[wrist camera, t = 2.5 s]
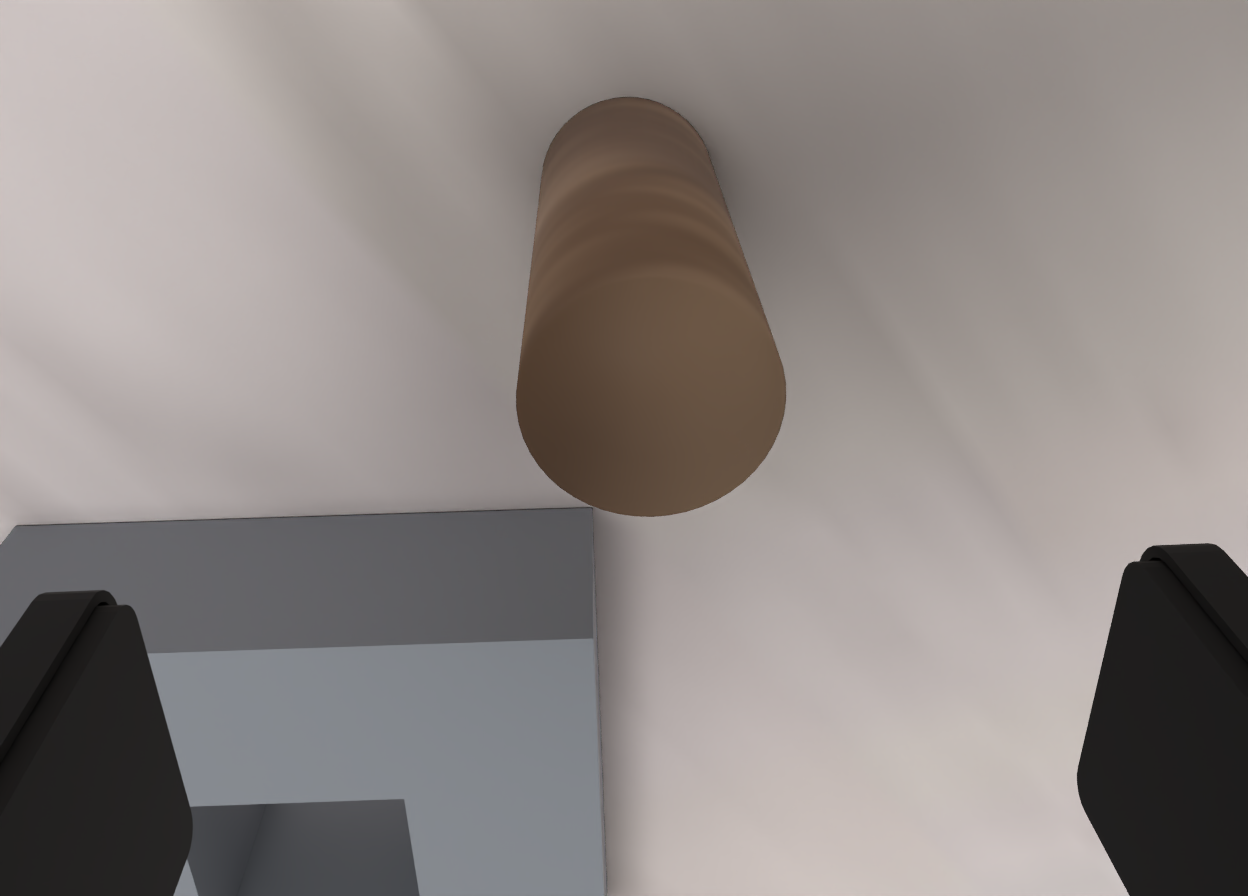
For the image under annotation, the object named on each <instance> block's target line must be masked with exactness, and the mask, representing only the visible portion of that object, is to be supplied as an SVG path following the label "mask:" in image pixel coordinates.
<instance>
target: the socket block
mask: <svg viewBox="0 0 1248 896" xmlns="http://www.w3.org/2000/svg"><path fill="white" fill-rule="evenodd" d="M89 590H105V591H108V592H110V593H111V594H112V596H113V597H114V598H115V600H116V603H117V605H129V606H131V607H132V608H133V610H134V611H135V613H136V616H137V618H138V622H139V626H140V629H141V633H142V636H143V640H144V643H145V647H146V651H147V654H148V658H149V661H150V665H151V669H152V672H153V676H154V679H155V683H156V686H157V690H158V694H159V697H160V701H161V704H162V708H163V712H164V715H165V719H166V722H167V726H168V729H169V733H170V737H171V740H172V744H173V747H174V751H175V755H176V758H177V762H178V765H179V769H180V772H181V776H182V780H183V783H184V787H185V790H186V794H187V798H188V801H189V805H190V808H191V813H192V820H193V834H192V842H191V848H190V851H189V855H188V857H187V860H186V863H185V866H184V868H183V871H182V874H181V876H180V879H179V882H178V885H177V887H176V890H175V893H174V895H173V896H607V876H606V850H605V824H604V799H603V773H602V747H601V722H600V696H599V670H598V645H597V619H596V593H595V568H594V542H593V516H592V508H570V509H539V510H508V511H476V512H445V513H414V514H382V515H351V516H320V517H288V518H257V519H226V520H194V521H163V522H132V523H100V524H69V525H37V526H15V527H14V529H13V530H12V531H11V532H10V534H9V535H8V536H7V537H6V539H5V540H4V541H3V542H2V544H1V545H0V647H1V645H2V644H3V642H4V641H5V639H6V638H7V637H8V635H9V634H10V632H11V631H12V629H13V628H14V627H15V625H16V624H17V622H18V621H19V619H20V618H21V616H22V615H23V614H24V612H25V611H26V609H27V608H28V606H29V605H30V603H31V602H32V601H33V600H34V599H35V598H36V597H37V596H38V595H39V594H42V593H45V592H65V591H89Z"/></svg>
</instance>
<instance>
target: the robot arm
mask: <svg viewBox="0 0 1248 896" xmlns="http://www.w3.org/2000/svg"><path fill="white" fill-rule="evenodd" d="M1077 785H1078V792H1079V796H1080V800H1081V803H1082V806H1083V808H1084V810H1085V812H1086V814H1087V816H1088V818H1089V820H1090V822H1091V824H1092V826H1093V828H1094V829H1095V831H1096V833H1097V835H1098V837H1099V839H1100V841H1101V843H1102V845H1103V846H1104V848H1105V850H1106V852H1107V854H1108V856H1109V858H1110V860H1111V862H1112V863H1113V865H1114V867H1115V869H1116V871H1117V873H1118V875H1119V877H1120V878H1121V880H1122V882H1123V884H1124V886H1125V888H1126V890H1127V892H1128V894H1129V895H1130V896H1248V577H1247V576H1246V574H1245V573H1244V572H1243V571H1242V570H1241V569H1240V568H1239V567H1238V566H1237V565H1236V564H1235V562H1234V561H1233V560H1232V559H1231V558H1230V557H1229V556H1228V555H1227V554H1226V553H1225V552H1224V551H1223V550H1222V549H1221V548H1220V547H1218V546H1217V545H1214V544H1209V543H1205V544H1181V545H1157V546H1152V547H1149V548H1147V549H1146V551H1145V552H1144V553H1143V554H1142V556H1141V559H1140V561H1138V562H1132V563H1129V564H1128V565H1127V567H1126V568H1125V570H1124V573H1123V576H1122V580H1121V584H1120V588H1119V593H1118V597H1117V601H1116V606H1115V610H1114V614H1113V619H1112V623H1111V627H1110V632H1109V636H1108V640H1107V644H1106V649H1105V653H1104V657H1103V662H1102V666H1101V670H1100V675H1099V679H1098V683H1097V688H1096V692H1095V696H1094V701H1093V705H1092V709H1091V714H1090V718H1089V722H1088V727H1087V731H1086V735H1085V740H1084V744H1083V748H1082V752H1081V757H1080V761H1079V765H1078V772H1077ZM192 834H193V820H192V813H191V808H190V805H189V801H188V798H187V794H186V790H185V787H184V783H183V780H182V776H181V772H180V769H179V765H178V762H177V758H176V755H175V751H174V747H173V744H172V740H171V737H170V733H169V729H168V726H167V722H166V719H165V715H164V712H163V708H162V704H161V701H160V697H159V694H158V690H157V686H156V683H155V679H154V676H153V672H152V669H151V665H150V661H149V658H148V654H147V651H146V647H145V643H144V640H143V636H142V633H141V629H140V626H139V622H138V618H137V616H136V613H135V611H134V610H133V608H132V607H131V606H129V605H117V603H116V600H115V598H114V597H113V596H112V594H111V593H110V592H108V591H105V590H89V591H65V592H45V593H42V594H39V595H38V596H37V597H36V598H35V599H34V600H33V601H32V602H31V603H30V605H29V606H28V608H27V609H26V611H25V612H24V614H23V615H22V616H21V618H20V619H19V621H18V622H17V624H16V625H15V627H14V628H13V629H12V631H11V632H10V634H9V635H8V637H7V638H6V639H5V641H4V642H3V644H2V645H1V647H0V896H173V895H174V893H175V890H176V887H177V885H178V882H179V879H180V876H181V874H182V871H183V868H184V866H185V863H186V860H187V857H188V855H189V851H190V848H191V842H192Z"/></svg>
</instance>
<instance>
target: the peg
mask: <svg viewBox="0 0 1248 896" xmlns="http://www.w3.org/2000/svg"><path fill="white" fill-rule="evenodd" d="M785 403H786V382H785V376H784V370H783V366H782V363H781V360H780V357H779V353H778V351H777V348H776V345H775V342H774V339H773V336H772V334H771V331H770V328H769V325H768V322H767V319H766V316H765V314H764V311H763V308H762V305H761V302H760V299H759V297H758V294H757V291H756V288H755V285H754V282H753V280H752V277H751V274H750V271H749V268H748V265H747V263H746V260H745V257H744V254H743V251H742V248H741V245H740V243H739V240H738V237H737V234H736V231H735V228H734V226H733V223H732V220H731V217H730V214H729V211H728V209H727V206H726V203H725V200H724V197H723V194H722V192H721V189H720V186H719V183H718V180H717V177H716V174H715V172H714V169H713V166H712V163H711V160H710V157H709V155H708V152H707V149H706V147H705V145H704V143H703V141H702V139H701V138H700V136H699V135H698V133H697V131H696V130H695V129H694V128H693V127H692V126H691V124H690V123H689V122H688V121H687V120H686V119H684V118H683V117H682V116H681V115H680V114H678V113H677V112H675V111H674V110H672V109H671V108H669V107H667V106H665V105H663V104H660V103H658V102H655V101H651V100H648V99H642V98H634V97H622V98H613V99H609V100H604V101H601V102H598V103H596V104H593V105H591V106H589V107H587V108H585V109H583V110H582V111H580V112H579V113H577V114H576V115H575V116H573V117H572V118H571V119H570V120H569V121H568V122H567V123H566V124H565V125H564V126H563V127H562V128H561V129H560V131H559V132H558V133H557V134H556V136H555V138H554V139H553V141H552V143H551V145H550V147H549V149H548V151H547V154H546V157H545V161H544V164H543V170H542V177H541V186H540V194H539V203H538V211H537V220H536V228H535V237H534V245H533V254H532V262H531V271H530V280H529V288H528V297H527V305H526V314H525V322H524V331H523V339H522V348H521V356H520V365H519V373H518V382H517V390H516V409H517V415H518V422H519V426H520V429H521V433H522V436H523V439H524V441H525V443H526V445H527V447H528V449H529V452H530V453H531V455H532V456H533V458H534V459H535V461H536V462H537V464H538V465H539V467H540V468H541V469H542V470H543V471H544V472H545V474H546V475H547V476H548V477H549V478H550V479H551V480H552V481H553V482H555V483H556V484H557V485H558V486H559V487H560V488H562V489H563V490H564V491H566V492H567V493H569V494H570V495H572V496H573V497H575V498H577V499H579V500H581V501H583V502H585V503H587V504H589V505H591V506H594V507H597V508H599V509H602V510H605V511H609V512H613V513H617V514H623V515H630V516H646V517H654V516H665V515H672V514H677V513H682V512H687V511H690V510H693V509H696V508H699V507H702V506H704V505H707V504H709V503H711V502H713V501H715V500H717V499H719V498H721V497H722V496H724V495H726V494H728V493H729V492H731V491H732V490H733V489H735V488H736V487H737V486H739V485H740V484H741V483H743V482H744V481H745V480H746V479H747V478H748V477H749V476H750V475H751V474H752V473H753V472H754V471H755V470H756V469H757V468H758V466H759V465H760V464H761V463H762V461H763V460H764V459H765V457H766V456H767V454H768V452H769V451H770V449H771V448H772V446H773V444H774V442H775V440H776V437H777V435H778V433H779V430H780V427H781V424H782V420H783V416H784V410H785Z"/></svg>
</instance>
